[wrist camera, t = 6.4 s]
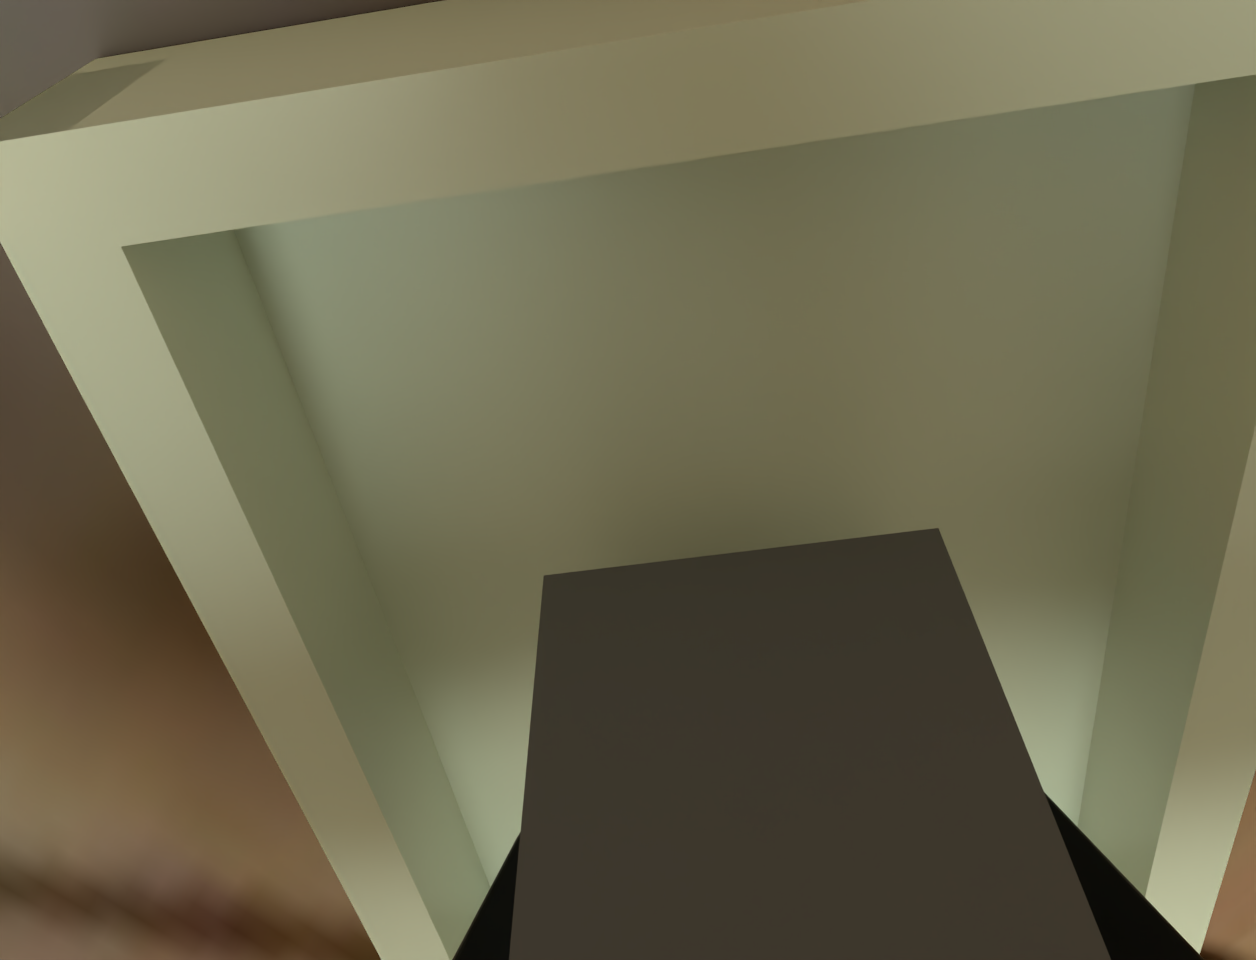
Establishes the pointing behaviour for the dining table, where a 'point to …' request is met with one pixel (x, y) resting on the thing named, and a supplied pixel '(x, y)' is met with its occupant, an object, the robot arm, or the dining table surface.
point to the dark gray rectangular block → (783, 769)
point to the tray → (675, 369)
